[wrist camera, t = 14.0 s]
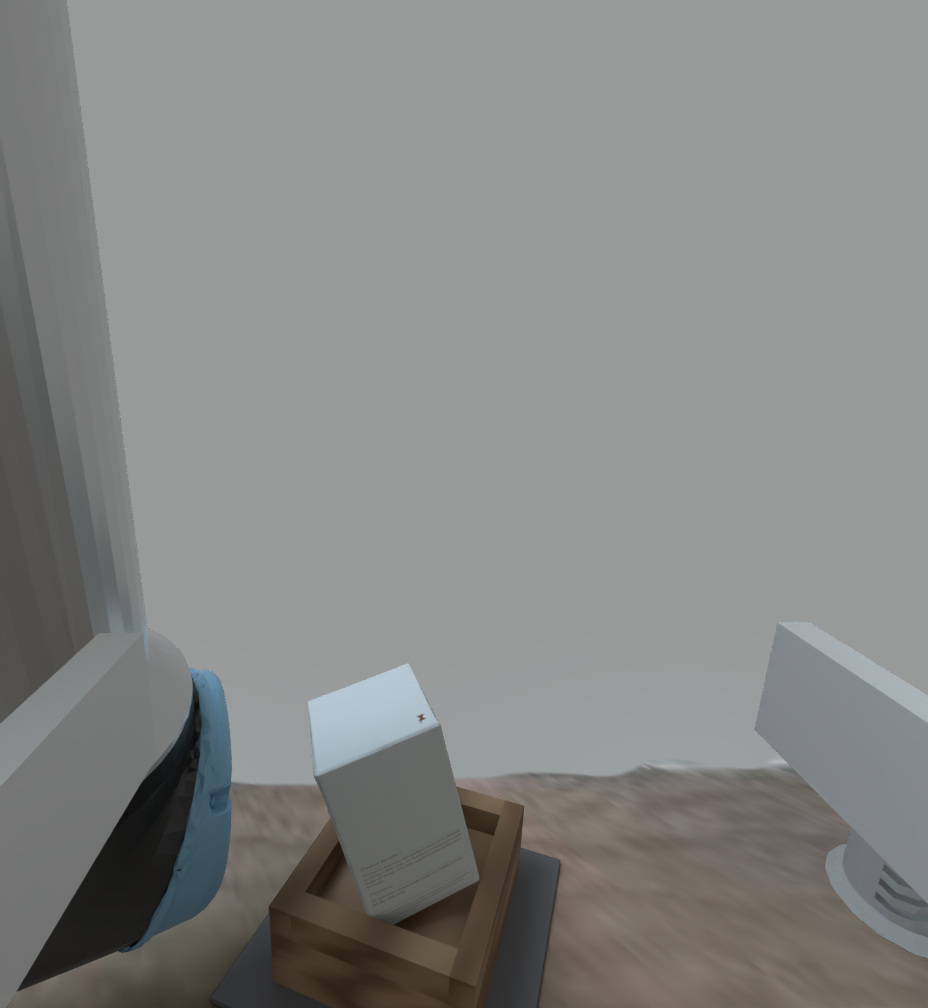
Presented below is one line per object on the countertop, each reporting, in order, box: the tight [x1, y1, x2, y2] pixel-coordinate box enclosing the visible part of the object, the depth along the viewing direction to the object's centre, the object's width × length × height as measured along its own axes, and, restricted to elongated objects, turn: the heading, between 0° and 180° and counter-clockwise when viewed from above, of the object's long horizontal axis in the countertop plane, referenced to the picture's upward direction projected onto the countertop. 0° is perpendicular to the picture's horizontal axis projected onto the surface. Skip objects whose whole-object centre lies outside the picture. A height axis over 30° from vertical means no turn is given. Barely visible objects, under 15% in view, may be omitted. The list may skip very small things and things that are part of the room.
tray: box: [269, 787, 524, 1008], centre depth 37 cm, size 13×13×6 cm
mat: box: [210, 848, 560, 1008], centre depth 38 cm, size 19×17×1 cm
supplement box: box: [308, 664, 480, 925], centre depth 35 cm, size 7×7×13 cm
